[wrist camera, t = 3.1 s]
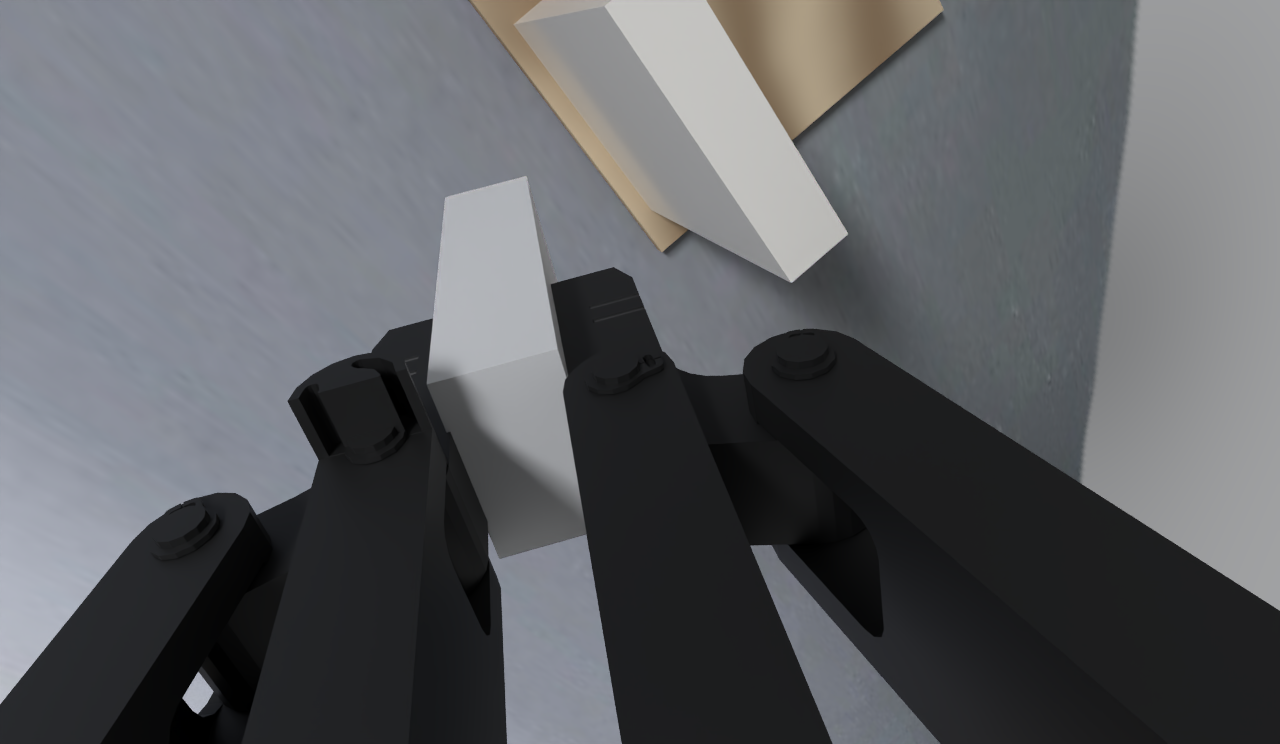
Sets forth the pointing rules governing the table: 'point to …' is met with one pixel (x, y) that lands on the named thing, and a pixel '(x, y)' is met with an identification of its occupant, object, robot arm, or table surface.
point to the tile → (687, 124)
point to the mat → (773, 53)
